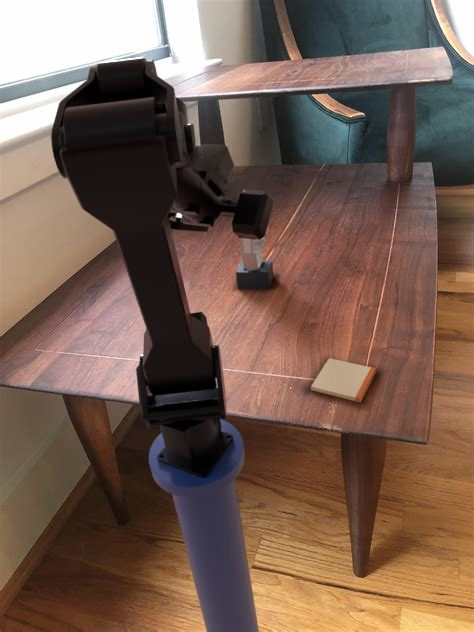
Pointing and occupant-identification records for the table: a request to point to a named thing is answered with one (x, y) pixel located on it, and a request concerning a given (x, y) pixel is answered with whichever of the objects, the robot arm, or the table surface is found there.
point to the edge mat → (344, 379)
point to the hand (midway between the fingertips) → (232, 231)
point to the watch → (254, 265)
